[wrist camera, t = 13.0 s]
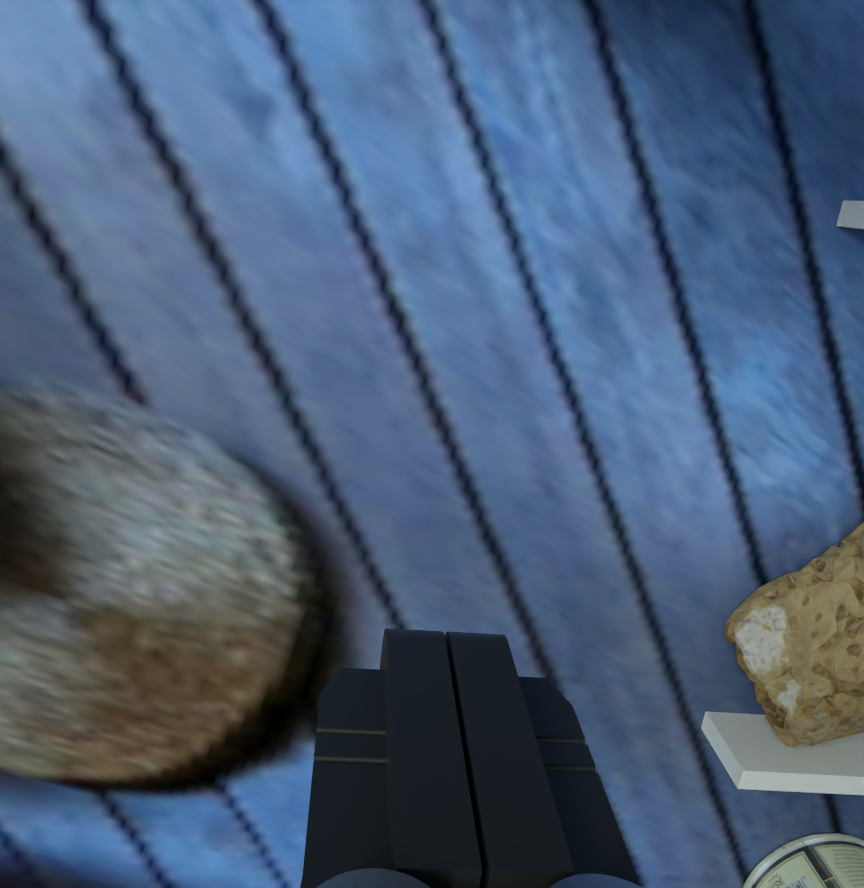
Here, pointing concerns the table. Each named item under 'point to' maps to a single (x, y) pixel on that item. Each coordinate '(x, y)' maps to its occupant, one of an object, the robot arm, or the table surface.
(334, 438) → the table surface
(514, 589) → the table surface
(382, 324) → the table surface
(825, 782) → the box
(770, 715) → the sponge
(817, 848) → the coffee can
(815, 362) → the table surface
